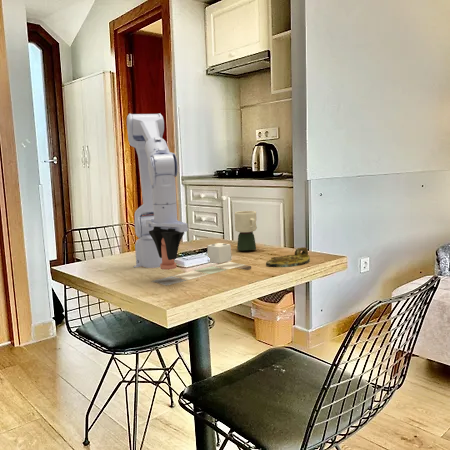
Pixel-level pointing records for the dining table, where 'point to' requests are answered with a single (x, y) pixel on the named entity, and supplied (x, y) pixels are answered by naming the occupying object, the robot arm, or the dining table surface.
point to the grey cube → (219, 252)
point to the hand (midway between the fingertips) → (167, 258)
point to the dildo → (166, 258)
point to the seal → (290, 259)
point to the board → (207, 270)
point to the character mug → (245, 229)
